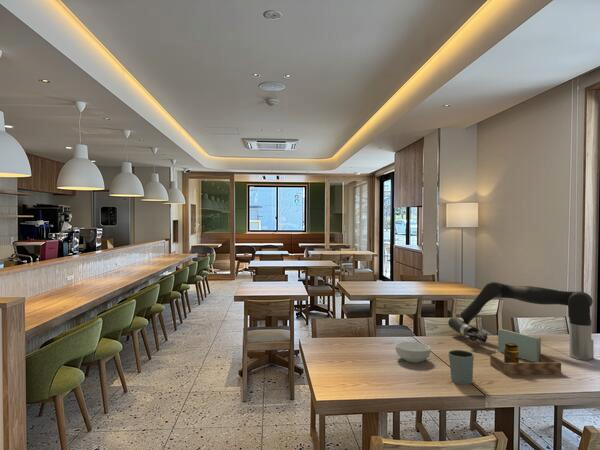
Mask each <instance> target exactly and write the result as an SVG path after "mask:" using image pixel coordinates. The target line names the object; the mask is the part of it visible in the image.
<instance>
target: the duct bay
mask: <svg viewBox="0 0 600 450" xmlns="http://www.w3.org/2000/svg"><path fill="white" fill-rule="evenodd" d="M489 355H490V356H489V359H490V361H489V362H490V364H489V365H490V367H493V368H494V369H495V370H497V371H499V372H500V373H502V374H503V375H505V376H513V375H515V376H519V375H520V376H522V375H523V376H524V375H561V374H562V362H560V361H558V360H556V359H554V358H551V357H550V356H547V355H546V354H543V353H541V354H540V358H541V362H540V363H535V362H519V363H505V362H504V360H502V359H500V358H499V357H497V356H495V355H494V354H489Z"/></svg>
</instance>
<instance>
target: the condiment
mask: <svg viewBox="0 0 600 450" xmlns="http://www.w3.org/2000/svg"><path fill="white" fill-rule="evenodd" d="M503 355H504V356H503V357H504V358H503V359H504V360H503V361H504V362H505V363H520V360H519V359H520V358H519V351H518V345H517V344H515V343H506V344H505V349H504V353H503Z"/></svg>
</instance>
